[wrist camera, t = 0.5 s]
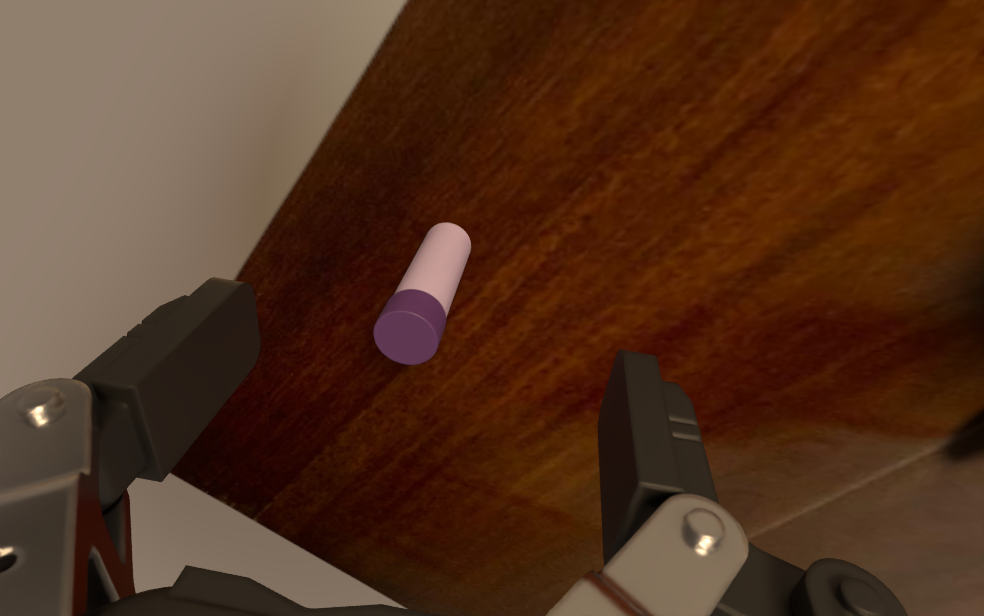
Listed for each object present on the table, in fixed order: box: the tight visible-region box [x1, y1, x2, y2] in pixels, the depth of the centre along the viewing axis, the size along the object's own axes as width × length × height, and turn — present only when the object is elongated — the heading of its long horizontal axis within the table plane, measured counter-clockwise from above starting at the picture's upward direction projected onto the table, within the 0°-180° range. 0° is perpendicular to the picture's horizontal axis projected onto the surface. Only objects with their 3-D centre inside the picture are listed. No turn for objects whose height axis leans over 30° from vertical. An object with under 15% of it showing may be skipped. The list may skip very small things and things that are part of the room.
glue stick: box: [374, 223, 471, 365], centre depth 29 cm, size 3×3×10 cm
